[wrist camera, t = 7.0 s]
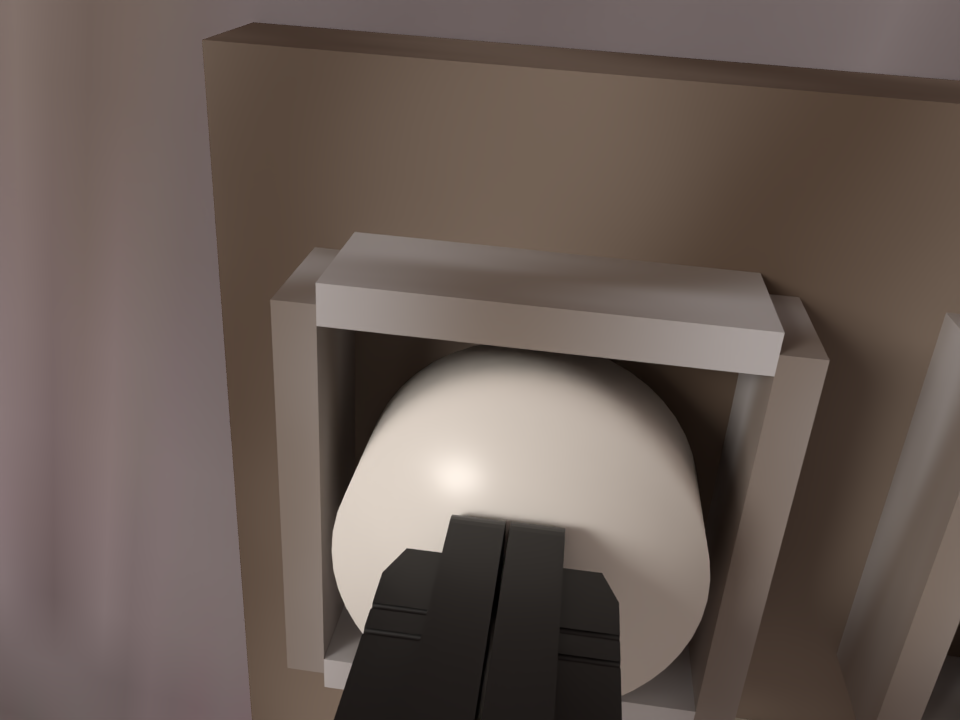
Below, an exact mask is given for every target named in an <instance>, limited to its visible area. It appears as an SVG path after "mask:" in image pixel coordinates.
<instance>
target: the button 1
mask: <svg viewBox="0 0 960 720" xmlns="http://www.w3.org/2000/svg"><path fill="white" fill-rule="evenodd" d="M452 515H461V516H469V517H477V518H485V519H493V520H501V521H506V533H505V544H504V554H503V565H502V575H501V583H502V577H503V570H504V563H505V557H506V550H507V543H508V536H509V530H510V524H511V522H519V523H527V524H535V525H543V526H551V527H559V528H565V546H564V563H563V568H568V569H576V570H583V571H591V572H599V573H603V575H604V577H605V579H606V581H607V582H608V584H609V586H610V588H611V589H612V591H613V593H614V595H615V596H616V598H617V600H618V602H619V614H620V640H619V641H620V656H621V663H620V669H621V696H622V695H624V694H627V693H629V692H631V691H633V690H635V689H637V688H638V687H640V686H642V685H643V684H645V683H647V682H648V681H650V680H651V679H653V678H654V677H655V676H657V675H658V674H659V673H660V672H662V671H663V670H664V669H666V668H667V667H668V666H669V665H670V664H671V663H672V662H673V661H674V660H675V659H676V658H677V657H678V656H679V655H680V653H681V652H682V651H683V649H684V648H685V647H686V645H687V644H688V643H689V641H690V640H691V638H692V637H693V635H694V633H695V631H696V629H697V627H698V625H699V623H700V621H701V619H702V616H703V613H704V610H705V607H706V603H707V600H708V593H709V586H710V560H709V553H708V547H707V540H706V534H705V527H704V521H703V514H702V507H701V501H700V494H699V488H698V481H697V475H696V469H695V464H694V459H693V454H692V451H691V449H690V446H689V443H688V441H687V438H686V435H685V433H684V432H683V430H682V428H681V426H680V424H679V423H678V421H677V419H676V417H675V416H674V415H673V413H672V412H671V411H670V409H669V408H668V407H667V405H666V404H665V403H664V401H663V400H662V399H661V398H660V397H659V396H658V395H657V394H656V393H655V392H654V391H653V390H652V389H651V388H650V387H649V386H648V385H646V384H645V383H644V382H642V381H641V380H640V379H638V378H637V377H636V376H635V375H633V374H632V373H631V372H629V371H627V370H626V369H624V368H622V367H621V366H619V365H617V364H615V363H614V362H612V361H610V360H608V359H605V358H601V357H592V356H583V355H574V354H565V353H556V352H547V351H538V350H529V349H520V348H511V347H502V346H493V345H484V344H480V345H475V346H472V347H469V348H466V349H463V350H460V351H457V352H454V353H451V354H449V355H447V356H445V357H443V358H441V359H439V360H437V361H435V362H433V363H431V364H430V365H428V366H427V367H425V368H424V369H422V370H421V371H419V372H418V373H416V374H415V375H414V376H413V377H412V378H411V379H410V380H408V381H407V382H406V383H405V384H404V385H403V386H402V387H401V388H400V389H399V390H398V391H397V392H396V394H395V395H394V396H393V397H392V398H391V400H390V401H389V402H388V404H387V406H386V407H385V409H384V410H383V412H382V414H381V415H380V417H379V419H378V421H377V424H376V426H375V428H374V430H373V432H372V435H371V437H370V439H369V441H368V444H367V446H366V448H365V450H364V453H363V455H362V457H361V459H360V462H359V464H358V466H357V468H356V471H355V473H354V475H353V477H352V480H351V482H350V484H349V486H348V489H347V491H346V493H345V495H344V498H343V500H342V503H341V505H340V507H339V510H338V512H337V516H336V520H335V525H334V529H333V537H332V560H333V570H334V574H335V578H336V582H337V586H338V590H339V592H340V594H341V597H342V599H343V602H344V604H345V607H346V608H347V610H348V612H349V614H350V615H351V617H352V619H353V620H354V622H355V624H356V625H357V627H358V628H359V629H360V630H361V632H362V633H364V627H365V623H366V620H367V617H368V614H369V611H370V608H371V609H372V602H373V599H374V596H375V593H376V590H377V587H378V584H379V581H380V578H381V575H382V572H383V571H384V570H385V569H386V568H387V567H388V566H389V565H390V564H391V563H392V562H393V561H394V560H395V559H396V558H397V557H398V556H399V555H400V554H401V553H402V552H403V551H404V550H405V549H407V548H410V549H417V550H425V551H433V552H441V553H442V550H443V546H444V542H445V538H446V534H447V530H448V526H449V522H450V518H451V516H452ZM500 590H501V586H500Z"/></svg>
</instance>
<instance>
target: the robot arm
mask: <svg viewBox="0 0 960 720" xmlns="http://www.w3.org/2000/svg"><path fill="white" fill-rule="evenodd" d="M505 533H506V521H501V520H493V519H485V518H477V517H469V516H461V515H452V516H451V518H450V522H449V526H448V530H447V534H446V538H445V542H444V546H443V550H442V553H441V552H433V551H425V550H417V549H410V548H407V549H405V550H404V551H403V552H402V553H401V554H400V555H399V556H398V557H397V558H396V559H395V560H394V561H393V562H392V563H391V564H390V565H389V566H388V567H387V568H386V569H385V570H384V571H383V572H382V575H381V578H380V581H379V584H378V587H377V590H376V593H375V596H374V599H373V602H372V609H371V608H370V611H369V614H368V617H367V620H366V623H365V627H364V633H363V634H362V636H361V639H360V642H359V645H358V648H357V651H356V654H355V657H354V660H353V663H352V666H351V669H350V672H349V675H348V678H347V681H346V684H345V687H344V690H343V693H342V696H341V699H340V702H339V705H338V708H337V711H336V714H335V717H334V720H622V699H621V669H620V663H621V656H620V641H619V640H620V614H619V602H618V600H617V598H616V596H615V595H614V593H613V591H612V589H611V588H610V586H609V584H608V582H607V581H606V579H605V577H604V575H603V573H599V572H591V571H583V570H576V569H568V568H563V563H564V546H565V528H559V527H551V526H543V525H535V524H527V523H519V522H511V524H510V530H509V536H508V543H507V550H506V557H505V563H504V570H503V577H502V583H501V575H502V565H503V554H504V544H505ZM500 586H501V590H500Z"/></svg>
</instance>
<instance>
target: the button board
mask: <svg viewBox="0 0 960 720" xmlns="http://www.w3.org/2000/svg"><path fill="white" fill-rule="evenodd" d="M202 46H203V59H204V73H205V87H206V100H207V114H208V127H209V141H210V155H211V168H212V182H213V196H214V209H215V223H216V236H217V250H218V264H219V277H220V291H221V304H222V318H223V332H224V345H225V359H226V373H227V386H228V400H229V413H230V427H231V441H232V454H233V468H234V481H235V495H236V509H237V522H238V536H239V550H240V563H241V577H242V590H243V604H244V618H245V631H246V645H247V658H248V672H249V686H250V699H251V713H252V720H334V717H335V714H336V711H337V708H338V705H339V702H340V699H341V696H342V693H343V690H344V687H345V684H346V681H347V678H348V675H349V672H350V669H351V666H352V663H353V660H354V657H355V654H356V651H357V648H358V645H359V642H360V639H361V636H362V634H363V633H362V632H361V630H360V629H359V628H358V627H357V625H356V624H355V622H354V620H353V619H352V617H351V615H350V614H349V612H348V610H347V608H346V607H345V604H344V602H343V599H342V597H341V594H340V592H339V590H338V586H337V582H336V578H335V574H334V570H333V560H332V537H333V529H334V525H335V520H336V516H337V512H338V510H339V507H340V505H341V503H342V500H343V498H344V495H345V493H346V491H347V489H348V486H349V484H350V482H351V480H352V477H353V475H354V473H355V471H356V468H357V466H358V464H359V462H360V459H361V457H362V455H363V453H364V450H365V448H366V446H367V444H368V441H369V439H370V437H371V435H372V432H373V430H374V428H375V426H376V424H377V421H378V419H379V417H380V415H381V414H382V412H383V410H384V409H385V407H386V406H387V404H388V402H389V401H390V400H391V398H392V397H393V396H394V395H395V394H396V392H397V391H398V390H399V389H400V388H401V387H402V386H403V385H404V384H405V383H406V382H407V381H408V380H410V379H411V378H412V377H413V376H414V375H415V374H416V373H418V372H419V371H421V370H422V369H424V368H425V367H427V366H428V365H430V364H431V363H433V362H435V361H437V360H439V359H441V358H443V357H445V356H447V355H449V354H451V353H454V352H457V351H460V350H463V349H466V348H469V347H472V346H475V345H480V344H484V345H493V346H502V347H511V348H520V349H529V350H538V351H547V352H556V353H565V354H574V355H583V356H592V357H601V358H605V359H608V360H610V361H612V362H614V363H615V364H617V365H619V366H621V367H622V368H624V369H626V370H627V371H629V372H631V373H632V374H633V375H635V376H636V377H637V378H638V379H640V380H641V381H642V382H644V383H645V384H646V385H648V386H649V387H650V388H651V389H652V390H653V391H654V392H655V393H656V394H657V395H658V396H659V397H660V398H661V399H662V400H663V401H664V403H665V404H666V405H667V407H668V408H669V409H670V411H671V412H672V413H673V415H674V416H675V417H676V419H677V421H678V423H679V424H680V426H681V428H682V430H683V432H684V433H685V435H686V438H687V441H688V443H689V446H690V449H691V451H692V454H693V459H694V464H695V469H696V475H697V481H698V488H699V494H700V501H701V507H702V514H703V521H704V527H705V534H706V540H707V547H708V553H709V560H710V586H709V593H708V600H707V603H706V607H705V610H704V613H703V616H702V619H701V621H700V623H699V625H698V627H697V629H696V631H695V633H694V635H693V637H692V638H691V640H690V641H689V643H688V644H687V645H686V647H685V648H684V649H683V651H682V652H681V653H680V655H679V656H678V657H677V658H676V659H675V660H674V661H673V662H672V663H671V664H670V665H669V666H668V667H667V668H666V669H664V670H663V671H662V672H660V673H659V674H658V675H657V676H655V677H654V678H653V679H651V680H650V681H648V682H647V683H645V684H643V685H642V686H640V687H638V688H637V689H635V690H633V691H631V692H629V693H627V694H624V695H622V696H621V699H622V720H960V81H957V80H945V79H933V78H921V77H909V76H897V75H884V74H872V73H860V72H848V71H836V70H824V69H812V68H800V67H787V66H775V65H763V64H751V63H739V62H727V61H715V60H703V59H690V58H678V57H666V56H654V55H642V54H630V53H618V52H605V51H593V50H581V49H569V48H557V47H545V46H533V45H521V44H508V43H496V42H484V41H472V40H460V39H448V38H436V37H424V36H411V35H399V34H387V33H375V32H363V31H351V30H339V29H327V28H314V27H302V26H290V25H278V24H266V23H254V22H253V23H250V24H247V25H244V26H241V27H238V28H235V29H233V30H230V31H227V32H224V33H221V34H218V35H215V36H212V37H209V38H206V39H203V40H202Z"/></svg>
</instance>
